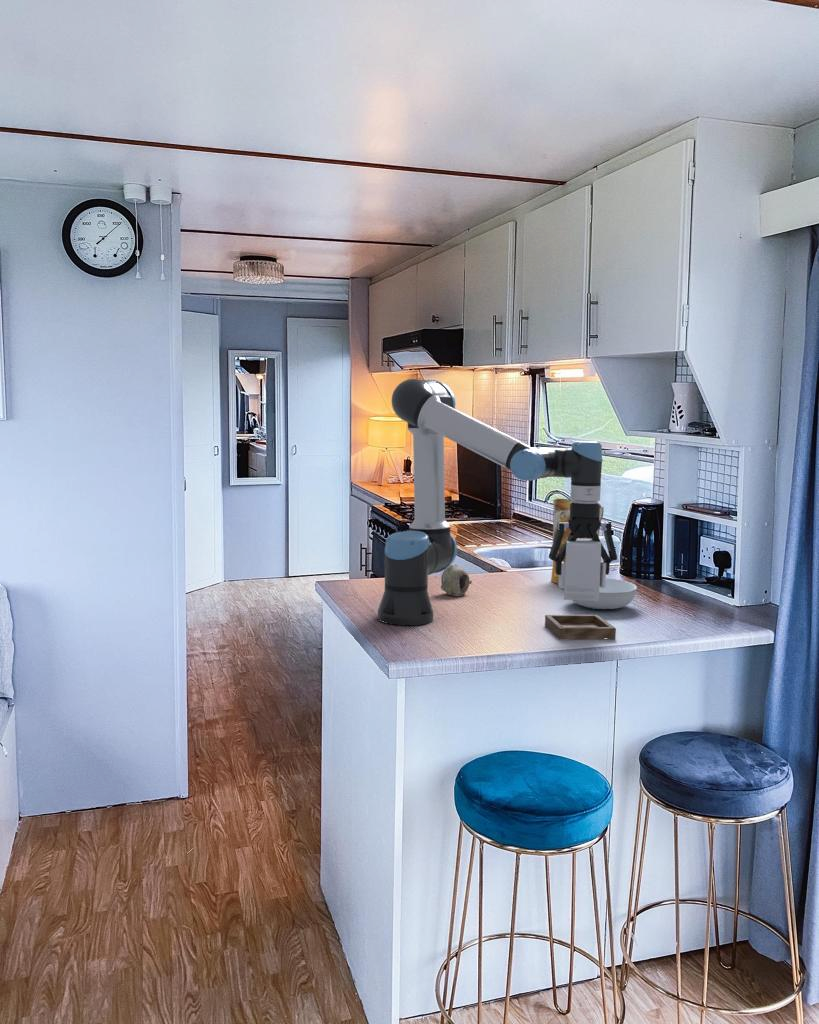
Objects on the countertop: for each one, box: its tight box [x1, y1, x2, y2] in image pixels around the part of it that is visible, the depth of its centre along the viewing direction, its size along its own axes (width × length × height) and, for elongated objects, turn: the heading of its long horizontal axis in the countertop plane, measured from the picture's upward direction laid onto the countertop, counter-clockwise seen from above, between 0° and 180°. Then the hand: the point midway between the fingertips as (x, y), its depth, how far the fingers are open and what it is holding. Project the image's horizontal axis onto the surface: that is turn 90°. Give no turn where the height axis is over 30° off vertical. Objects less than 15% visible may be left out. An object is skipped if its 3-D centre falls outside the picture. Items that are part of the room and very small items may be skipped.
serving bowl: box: [571, 577, 638, 610], centre depth 254 cm, size 21×21×7 cm
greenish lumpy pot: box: [440, 564, 473, 597], centre depth 267 cm, size 9×8×10 cm
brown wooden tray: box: [544, 614, 617, 640], centre depth 225 cm, size 14×14×3 cm
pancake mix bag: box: [550, 498, 604, 585], centre depth 284 cm, size 7×19×28 cm, turn 39°
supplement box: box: [563, 538, 602, 602], centre depth 223 cm, size 9×9×15 cm
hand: (581, 587), depth 224 cm, fingers closed on supplement box, 10 cm apart
